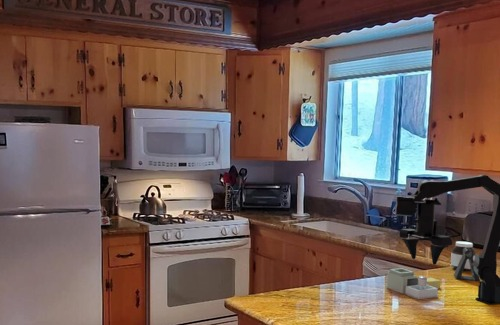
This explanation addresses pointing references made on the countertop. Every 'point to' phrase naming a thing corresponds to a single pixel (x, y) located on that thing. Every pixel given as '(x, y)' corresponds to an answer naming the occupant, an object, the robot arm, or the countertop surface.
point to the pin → (422, 283)
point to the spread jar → (458, 253)
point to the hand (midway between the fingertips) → (423, 261)
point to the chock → (433, 282)
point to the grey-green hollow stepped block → (401, 279)
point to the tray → (421, 292)
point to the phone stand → (462, 264)
